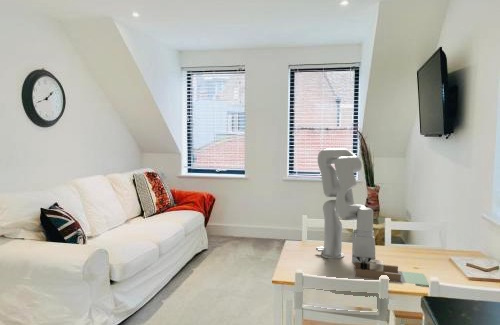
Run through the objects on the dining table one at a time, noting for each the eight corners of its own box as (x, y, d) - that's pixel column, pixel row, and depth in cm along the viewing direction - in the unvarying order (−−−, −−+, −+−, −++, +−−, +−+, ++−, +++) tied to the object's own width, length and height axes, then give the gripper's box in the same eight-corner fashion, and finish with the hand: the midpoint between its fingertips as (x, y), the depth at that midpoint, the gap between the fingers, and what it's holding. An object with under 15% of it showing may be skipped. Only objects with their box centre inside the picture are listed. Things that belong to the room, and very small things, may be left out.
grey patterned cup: (369, 275, 169) (370, 263, 168) (369, 271, 175) (369, 259, 174) (383, 277, 167) (383, 264, 167) (382, 272, 173) (382, 260, 172)
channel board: (355, 278, 167) (355, 270, 167) (355, 267, 181) (355, 260, 180) (429, 286, 158) (430, 278, 158) (423, 274, 172) (424, 267, 172)
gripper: (348, 233, 170) (347, 271, 171) (381, 236, 166) (380, 274, 167) (348, 230, 177) (347, 265, 178) (380, 232, 173) (379, 269, 174)
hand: (363, 270), depth 173 cm, fingers closed
